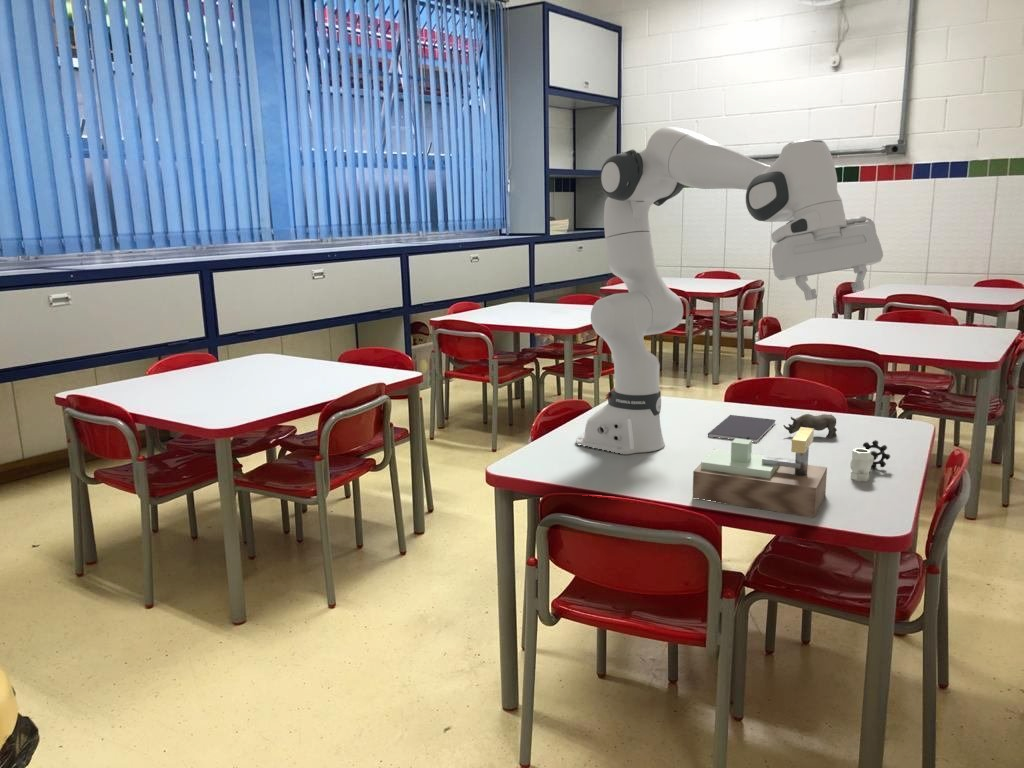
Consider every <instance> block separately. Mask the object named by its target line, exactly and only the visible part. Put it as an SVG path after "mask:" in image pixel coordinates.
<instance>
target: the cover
mask: <svg viewBox="0 0 1024 768" xmlns="http://www.w3.org/2000/svg"><path fill="white" fill-rule="evenodd" d="M730 443H731V444H730V445H731V446H730V447H731V450H725V449H715V448H714V449H713V450H712V451H711V452H710V453H708V455H706V457H705V458H704V459H702V460H701V462H700V464H701V469H704V470H712V471H719V472H727V473H734V474H741V475H749V476H756V477H763V478H771V477H772V475H773V474H774V472H775V471H776V469H777V468H778V467H779V466H776V465H768V464H762V459H763V457H764V456H766V455H763V454H756V453H752V449H753V448H752V447H753V442H752V440H747V439H738V438H735V439H734V440H731V442H730ZM769 456H770V455H769ZM770 457H774V456H772V455H771V456H770ZM777 457H778V458H782V457H781V456H777Z"/></svg>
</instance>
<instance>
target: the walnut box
mask: <svg viewBox="0 0 1024 768" xmlns="http://www.w3.org/2000/svg"><path fill="white" fill-rule="evenodd" d="M827 471H828V467H827V466H821V465H814V464H813V465H812V464H808V470H807V475H796V474H795V468H791V467H783V466H779V467H778V468H777V469H776V471H775V472H774V474H773V475H772V477H771V478H763V477H756V476H749V475H741V474H734V473H727V472H719V471H712V470H704V469H701V463H700V464H698V465H697V467H696V468H695V469H694V470H693V471H692V472H693V474H692V475H693V476H692V477H693V478H692V499H693V498H699V499H705V500H711V501H716V502H715V503H717V502H721V503H720V504H724V503H726V504H725V505H730V504H732V505H731V506H737V505H739V506H738V507H743V506H744V507H745V508H750V507H752V508H751V509H756V508H759V509H758V510H763V509H765V510H764V511H769V510H771V512H775V511H778V512H777V513H782V512H783V514H789V515H795V516H801V517H809V518H815V517H816V515H817V513H818V511H819V509H820V507H821V506H822V505H821V504H822V503H823V500H824V499H825V497H826V490H827V477H828V476H827V473H828V472H827ZM711 501H710V502H711ZM744 507H743V508H744Z"/></svg>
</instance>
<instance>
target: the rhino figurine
mask: <svg viewBox="0 0 1024 768" xmlns="http://www.w3.org/2000/svg"><path fill="white" fill-rule="evenodd" d="M790 419H791V420H792V424H791V423H788V426H786V425H785V424H783V427H784V429H785V430H787V431H788V433H789V434H790V435H791V434H794V433H797V432H798V431H799V429H800V428H801V427H805V428H814V431H817V432H818V431H824V430H825V429H827V431H828V433H827V434H826V436H825V439H833V437H836V436H837V431H838V430H837V428H836V426H837V418H836V417H835V415H833V414H827V413H826V414H825V413H824V414H823V413H822V414H818V415H813V414H809V413H805V414H802V415H801V416H799V417H796V418H794V417H792V416H790Z"/></svg>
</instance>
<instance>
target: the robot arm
mask: <svg viewBox="0 0 1024 768" xmlns="http://www.w3.org/2000/svg"><path fill="white" fill-rule="evenodd" d="M837 175H838V174H837V171H836V167H835V163H834V158H833V156H832V154H831V150H830V148H829V146H828V145H827V143H826V142H825V141H823V140H821V139H815V138H807V139H799V140H795V141H794V140H793V141H791V142H788V143H786V145H784V146H783V147H782V149H781V152H780V154H779V156H778V158H777V159H776V160H774V162H773V163H772V164H768V163H766V162H762V161H759V160H758V159H754V158H751V157H749V156H748V155H744V154H743V153H740V152H738V151H737V150H734V149H732V148H730V147H728V146H727V145H723V144H721V143H720V142H718V141H715V140H714V139H711V138H709V137H707V136H705V135H703V134H700V133H698V132H695V131H693V130H689V129H685V128H682V127H675V126H664V127H661V128H659V129H657V130H656V131H654V132H653V133H652V134H651V136H650V138H649V139H648V141H647V144H646V147H645V148H644V149H643V150H641V151H637V150H635V149H633V148H632V149H630V150H626V151H624V152H621V153H618V154H615V155H612V156H610V157H608V158H607V159H606V160H605V161H604V163H603V165H602V167H601V169H600V174H599V182H600V187H601V189H602V192H603V194H604V195H605V196H607V198H606V199H605V202H604V207H603V208H604V213H603V229H604V239H605V248H606V256H607V262H608V269H609V270H610V272H611V273H612V274H613V275H614V276H616V277H617V278H619V279H620V280H621V281H622V282H623V283H624V284H625V286H626V289H627V291H628V292H621V293H620V292H619V293H613V294H611V295H608V296H607V295H606V296H603V297H601V298H599V299H598V300H596V302H594V304H593V305H592V308H591V311H590V323H591V326H592V328H593V330H594V332H595V333H596V334H597V335H598V336H600V338H602V339H603V341H604V342H605V343H606V344H607V346H608V348H609V350H610V353H611V356H612V359H613V366H614V367H613V368H614V371H613V372H614V387H613V388H612V389H611V390H610V391H608V392H607V393H606V394H605V397H604V398H605V400H607V404H605V405H604V406H602V407H601V408H600V409H598V410H597V411H596V412H594V413H593V414H592V415H591V416H590V417H589V418H587V420H586V424H585V428H584V432H582V433H580V434H579V435H578V436H577V437H576V439H575V444H576V443H577V444H581V445H585V446H589V447H594V448H598V449H597V450H599V449H602V450H601V451H604V450H607V451H606V452H609V451H611V452H610V453H614V452H615V453H614V454H618V453H620V455H631V454H636V453H637V454H638V453H648V452H649V453H650V452H655V451H658V450H662V449H663V448H664V447H665V445H666V443H665V441H664V437H663V432H662V428H661V427H662V426H661V416H660V415H661V409H662V395H661V394H662V393H661V390H660V362H659V361H660V360H659V358H658V357H657V356H656V355H655V354H653V353H652V352H650V351H648V350H647V347H646V345H645V340H644V337H645V336H651V335H658V334H659V335H660V334H664V333H667V332H668V331H670V330H673V329H675V328H677V327H678V326H679V325H680V324H681V322H682V320H683V317H684V306H683V305H684V304H683V303H682V300H681V298H680V297H679V295H677V294H676V293H675V292H674V291H672V290H671V289H670V288H669V287H668V286H667V284H666V283H665V280H663V278H662V275H660V272H659V270H658V267H657V264H656V259H655V255H654V249H653V242H652V236H651V227H650V221H649V210H650V208H651V206H652V205H655V206H657V207H660V206H662V205H663V204H664V203H665V202H667V201H668V200H670V199H673V198H674V197H676V196H677V195H678V194H680V193H681V191H682V190H683V189H684V187H685V186H686V187H690V188H694V189H701V190H720V189H721V190H723V189H724V190H725V189H728V190H729V189H732V190H733V189H736V190H744V191H746V193H745V205H746V209H747V211H748V213H749V215H750V216H751V217H752V218H753V219H754V220H757V221H758V222H765V223H773V222H774V223H777V222H779V223H783V222H785V224H784V225H782V226H780V227H779V228H777V229H776V230H774V231H773V232H772V233H771V236H770V237H771V241H772V243H775V244H774V245H773V246H772V249H771V259H772V268H773V273H774V276H775V277H776V278H777V279H778V280H779V281H785V280H786V281H787V280H791V279H794V281H795V285H796V286H797V287H798V288H799V289H800V290H801V291H802V292H803V294H804V300H806V302H808V301H811V300H815V299H817V297H818V295H817V294H816V293H817V289H816V288H811V287H810V286H809V284H808V283H807V281H809V279H808V277H809V276H814V275H820V274H826V273H832V272H837V271H843V270H844V271H845V270H848V269H849V270H850V269H853V273H854V274H856V276H855V281H854V282H851V283H850V285H851V288H852V289H851V290H852V292H853V293H858V292H862V291H864V290H865V283H864V280H865V277H866V275H867V271H868V267H867V266H872V265H875V264H878V263H880V262H881V261H882V259H883V257H884V253H883V252H884V251H883V249H882V245H881V242H880V239H879V237H878V234H877V230H876V224H875V222H874V220H872V219H871V218H868V217H866V216H859V217H852V218H846V213H845V210H844V205H843V200H842V198H841V196H840V194H839V191H838V176H837ZM577 444H576V445H577ZM585 446H584V447H585ZM589 447H588V448H589ZM594 448H593V449H594Z"/></svg>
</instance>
